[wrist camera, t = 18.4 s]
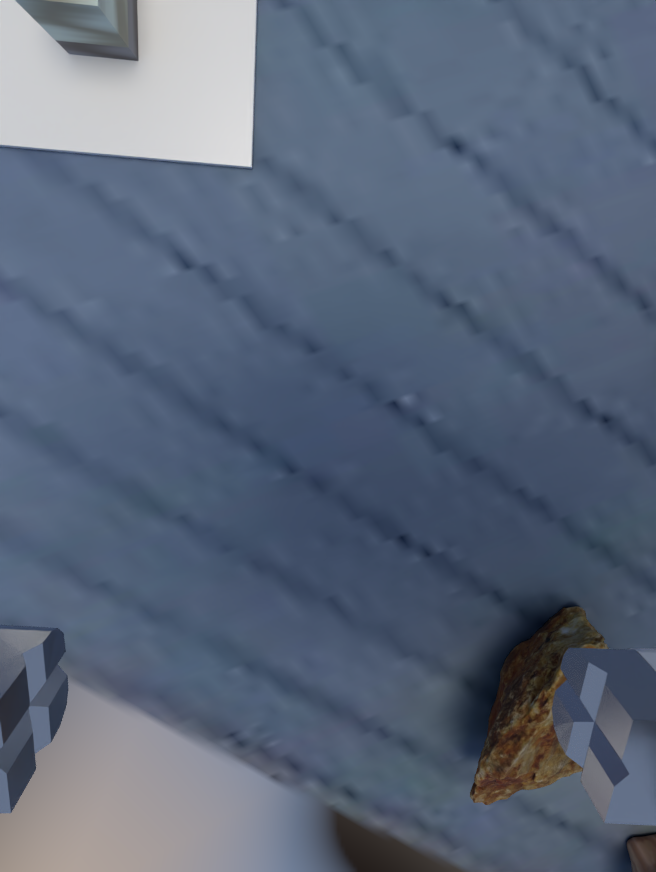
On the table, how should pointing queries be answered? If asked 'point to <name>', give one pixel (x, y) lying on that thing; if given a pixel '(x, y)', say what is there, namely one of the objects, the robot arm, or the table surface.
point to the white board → (136, 86)
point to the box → (89, 25)
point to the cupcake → (642, 853)
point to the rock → (530, 711)
